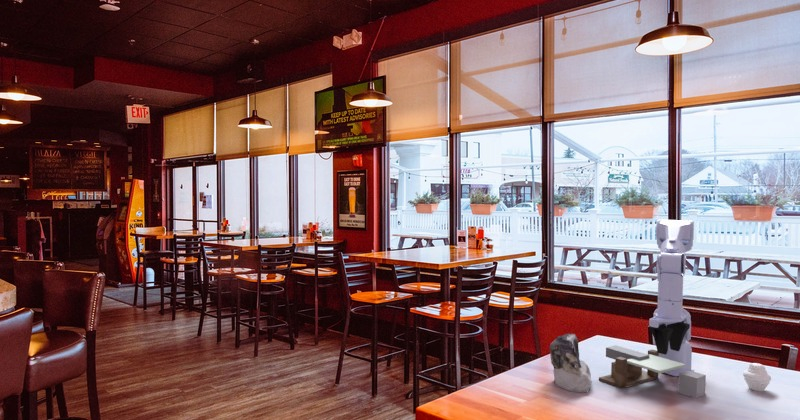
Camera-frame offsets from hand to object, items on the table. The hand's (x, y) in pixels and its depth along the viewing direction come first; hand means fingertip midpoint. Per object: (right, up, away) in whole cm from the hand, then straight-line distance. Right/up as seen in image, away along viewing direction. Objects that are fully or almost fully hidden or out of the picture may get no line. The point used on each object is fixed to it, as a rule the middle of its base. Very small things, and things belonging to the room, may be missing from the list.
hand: (668, 351), depth 138 cm
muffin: (+24, -11, +2) cm, 27 cm away
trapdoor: (-5, -5, +6) cm, 9 cm away
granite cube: (+5, -10, -1) cm, 12 cm away
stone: (-24, -10, +5) cm, 26 cm away
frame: (-6, -10, +9) cm, 15 cm away
